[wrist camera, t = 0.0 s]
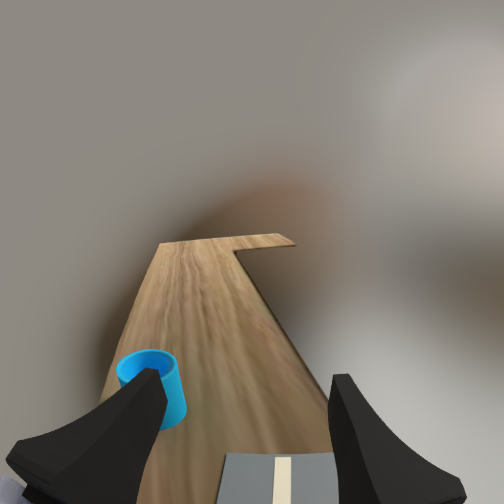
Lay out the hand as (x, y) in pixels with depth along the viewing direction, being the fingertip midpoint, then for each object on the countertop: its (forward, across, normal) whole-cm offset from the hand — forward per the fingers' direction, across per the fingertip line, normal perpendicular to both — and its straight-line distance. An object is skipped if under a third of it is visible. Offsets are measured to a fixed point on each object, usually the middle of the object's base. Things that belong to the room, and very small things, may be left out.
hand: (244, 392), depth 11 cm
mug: (+15, +15, +23) cm, 32 cm away
